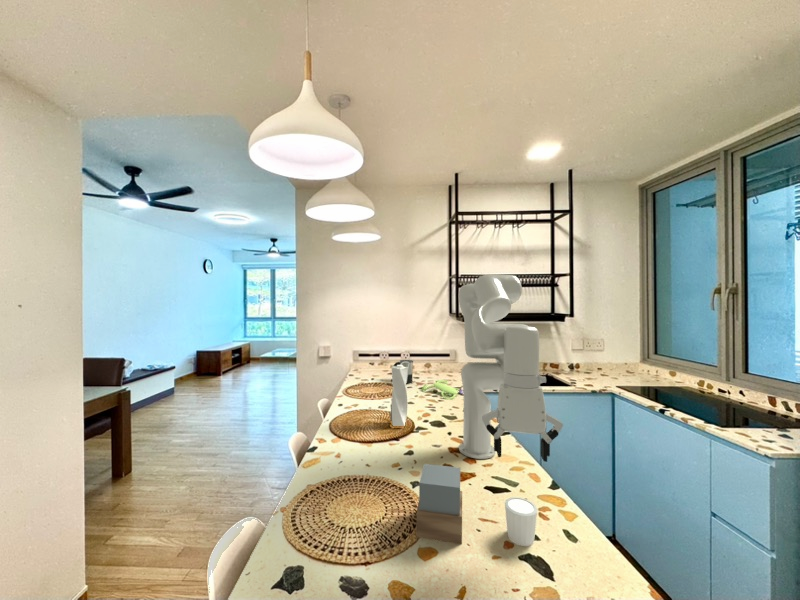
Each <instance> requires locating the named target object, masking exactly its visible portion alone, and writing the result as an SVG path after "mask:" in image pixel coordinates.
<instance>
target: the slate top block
mask: <svg viewBox="0 0 800 600" xmlns="http://www.w3.org/2000/svg"><path fill="white" fill-rule="evenodd" d="M422 467H423V468H422V472H421V474H420V479H419V483H418V484H419V488H418V489H419V491H418V492H419V493H418V496H419V497H418V498H419V499H418V503H419V510H424V511H432V512H439V513H447V514H454V515H460V491H461V467H459V466H458V467H457V466H450V465H449V466H448V465H438V464H429V463H423V466H422Z"/></svg>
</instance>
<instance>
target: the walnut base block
mask: <svg viewBox="0 0 800 600" xmlns="http://www.w3.org/2000/svg"><path fill="white" fill-rule="evenodd" d="M415 533H416V534H415V535H416V538H419V539H424V540H425V539H427V540H430V541H431V540H432V541H439V542H445V543H452V544H458V545H462V544H463V491H462V490H460V515H454V514H447V513H439V512H432V511H424V510H419V502H418V504H417V508H416V532H415Z"/></svg>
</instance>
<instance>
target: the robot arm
mask: <svg viewBox="0 0 800 600" xmlns="http://www.w3.org/2000/svg"><path fill="white" fill-rule="evenodd" d="M522 292H523V287H522V283H521V281H520V279H519V278H518V277H517V276H516V275H513V274H484V275H480V276H479V277H478V278H477V279H476V280H475V282H474V283H467V284H464V285H462V286H461V287H460V288H459V290H458V303H459V308H460V310H461V314H462V317H463V320H464V348H465V349H464V350H465V354H466V356H468V358H472V359H481V360H482V359H484V360H485V359H486V360H490V359H492V360H493V359H494V360H495V361H496V362H487V361H486V362H478V361H473V362H468V363H465V364H464V365H463V366H462V368H461V372H460V373H461V374H460V376H461V381H462V390H463V394H462V395H463V423H462V424H463V426H462V427H463V431H462V432H463V433H462V434H463V439H462V441H463V442H461V443H460V444H459V445H458V451H459V453H461V454H462V455H464V456H466V457H468V458H471V459H472V458H473V459H478V460H486V459H491V458H493V457H494V456H495V454H497V458H501V457H502V438H501V437H502V435H503V434H504V433H506V432H507V433H516V434H517V433H519V434H532V435H540V437H541V438H540V457H541V459H542V461H543V462H546V463H547V462H548V457H550V455H551V453H550V451H551V446H550V444H551V443H552V442H553V441H554V439H556V438H557V437H558V436H559V433H560V432H561V430H562V428H563V427H564V423H563V422H562V421H561V420H559V419H557V418H556V417H554V416H552V415H550V414H549V413H547V412H546V403H545V401H546V400H545V396H544V395H545V394H544V390H543V388H542V386H541V384H543V383H545V384H546V383H547V377H546V376H544V375H543V376H542V375H540V332H539V330H538V328H536V327H534V326H531V325H529V326H528V325H527V324H524V323H501V322H500V323H497V322H498V321H501V320H502V319H503V318H506V316H507V315H508V314H509V313H510V312H511V308H512V304H514V303H516V302H517V301H519V300H520V298H521V296H522ZM494 322H496V323H494ZM484 391H498V395H497V396H498V397H497V408H496V409H495V410H492V405H491V400H490V398H489V397H488V396H487V394H486V393H485V392H484ZM495 418H496V421H497V425H496V426H495V427H494V426H493V425H492V424H491V423H492V420H493V419H495ZM547 423H550V424H552V425H553V426H552V427H551V429H550V430H548V432H547ZM491 437H493V445H492V444H491V441H492V438H491Z"/></svg>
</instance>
